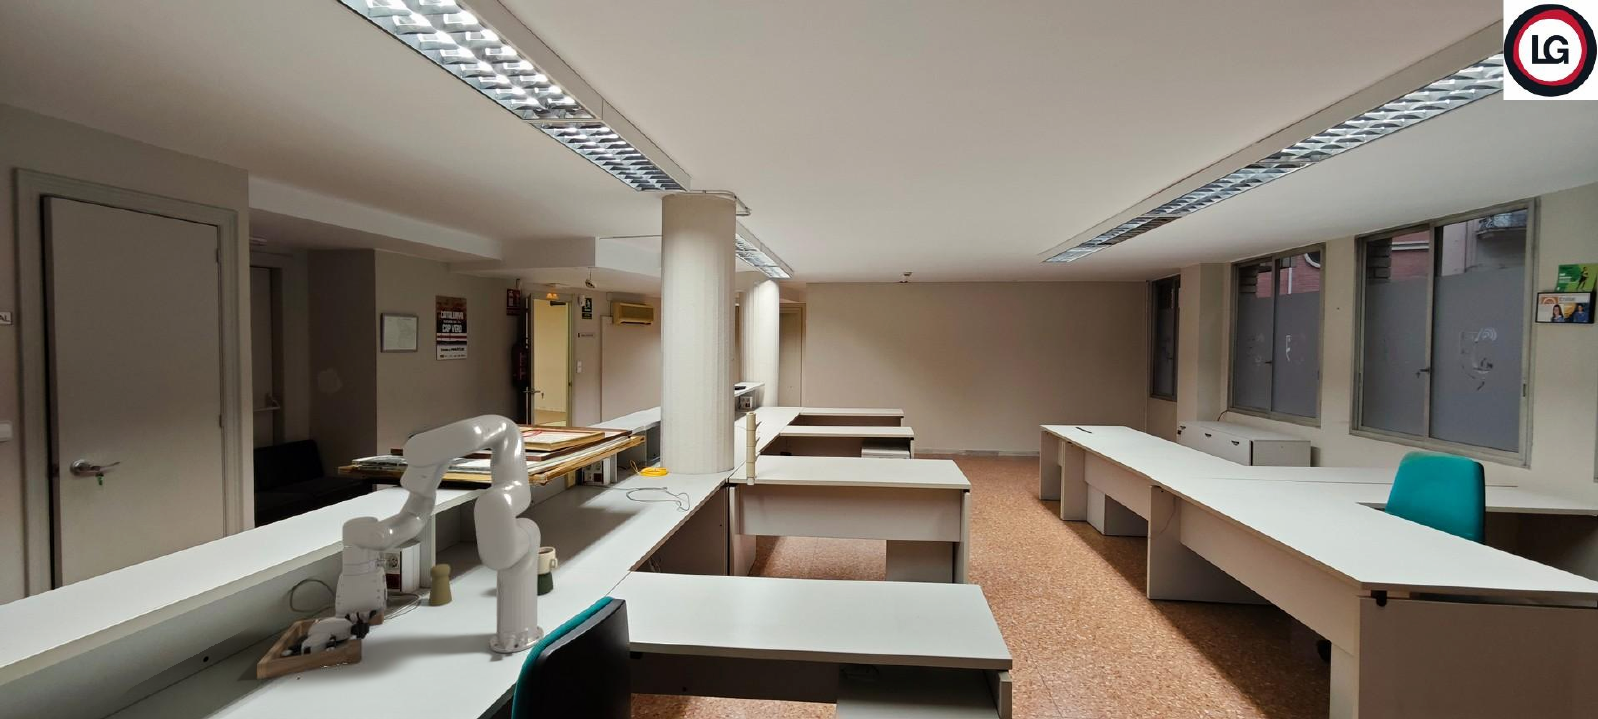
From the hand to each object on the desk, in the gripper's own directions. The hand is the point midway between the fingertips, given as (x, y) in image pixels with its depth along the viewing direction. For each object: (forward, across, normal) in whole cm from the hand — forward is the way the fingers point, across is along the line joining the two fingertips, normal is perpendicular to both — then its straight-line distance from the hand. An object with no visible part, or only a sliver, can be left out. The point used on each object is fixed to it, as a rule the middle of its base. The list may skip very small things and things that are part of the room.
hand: (361, 636), depth 147 cm
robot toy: (+2, +8, -1) cm, 8 cm away
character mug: (+2, -43, -15) cm, 45 cm away
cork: (+2, -15, -19) cm, 24 cm away
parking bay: (+1, +7, 0) cm, 8 cm away
